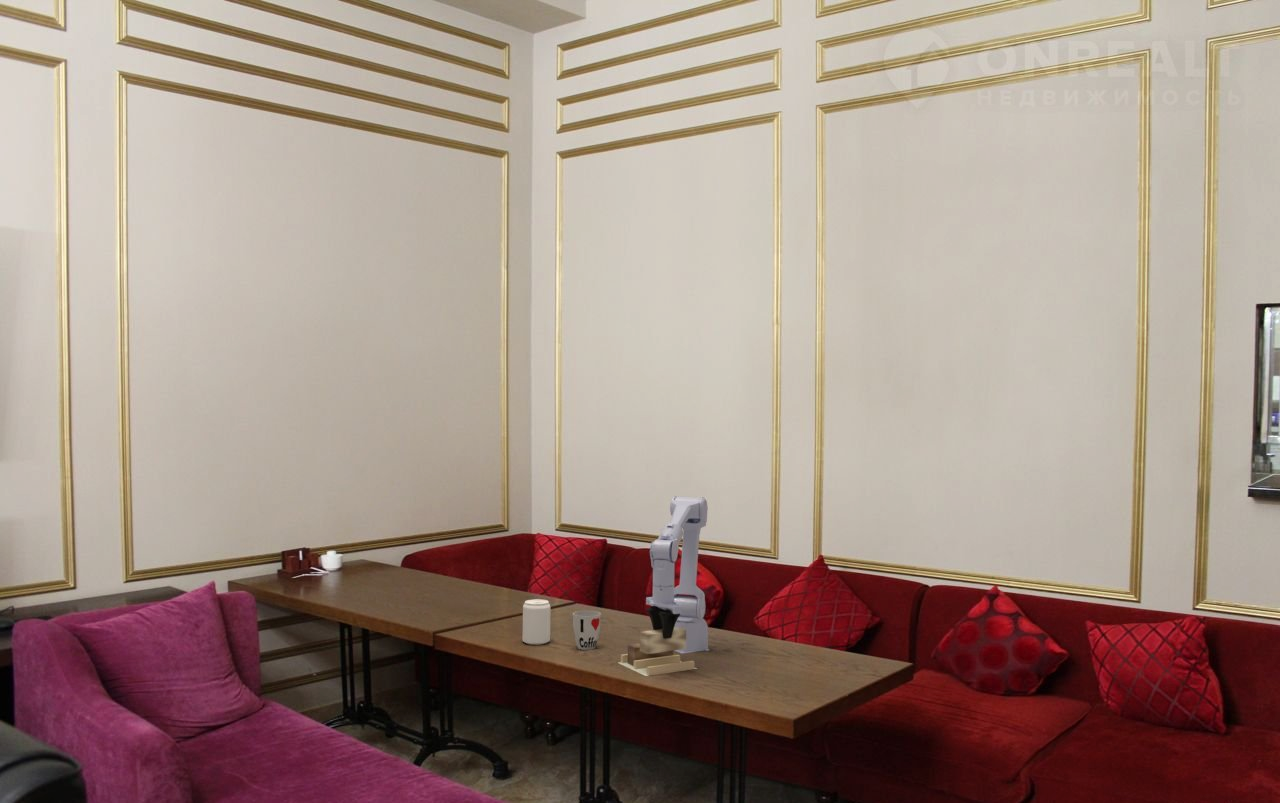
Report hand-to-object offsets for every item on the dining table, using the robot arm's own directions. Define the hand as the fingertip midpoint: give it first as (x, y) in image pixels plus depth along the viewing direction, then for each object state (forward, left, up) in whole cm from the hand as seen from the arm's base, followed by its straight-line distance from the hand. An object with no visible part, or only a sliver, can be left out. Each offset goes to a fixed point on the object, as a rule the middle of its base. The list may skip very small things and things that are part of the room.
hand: (662, 636), depth 260 cm
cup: (+7, -31, -9) cm, 33 cm away
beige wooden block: (0, 0, -4) cm, 4 cm away
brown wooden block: (0, -6, -8) cm, 11 cm away
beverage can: (+17, -44, -9) cm, 48 cm away
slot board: (0, -3, -9) cm, 9 cm away
